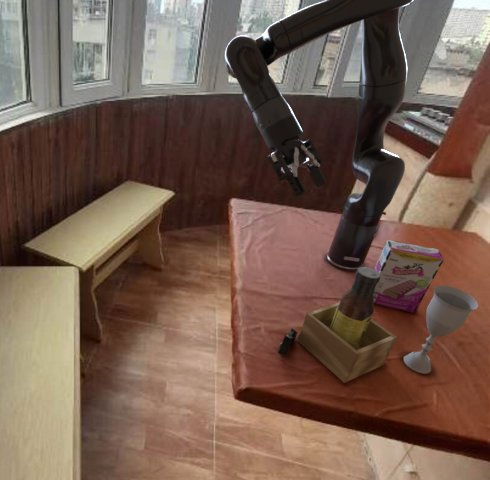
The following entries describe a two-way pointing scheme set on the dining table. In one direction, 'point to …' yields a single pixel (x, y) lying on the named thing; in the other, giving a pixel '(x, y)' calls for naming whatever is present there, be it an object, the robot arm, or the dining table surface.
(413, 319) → the dining table surface
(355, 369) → the caddy
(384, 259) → the candy bar box
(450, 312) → the chalice
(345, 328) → the sauce bottle
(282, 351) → the lighter
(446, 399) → the dining table surface
